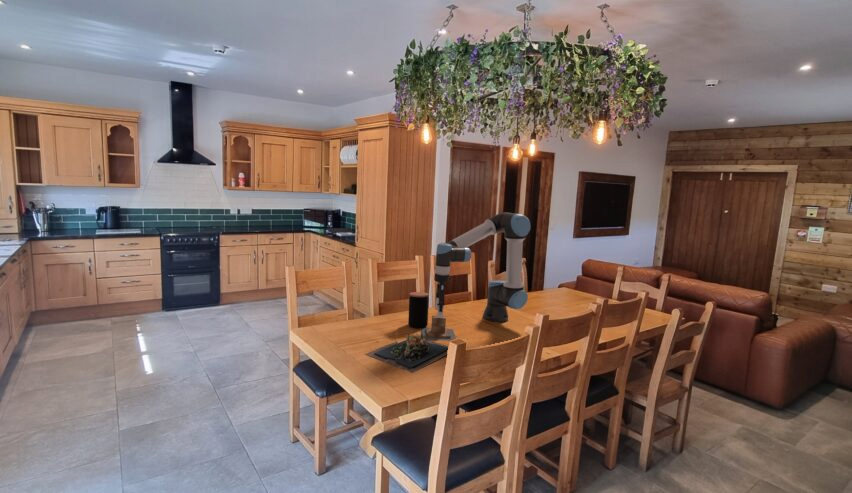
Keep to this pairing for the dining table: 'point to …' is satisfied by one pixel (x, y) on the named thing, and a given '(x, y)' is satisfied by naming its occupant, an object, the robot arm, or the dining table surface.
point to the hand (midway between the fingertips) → (438, 313)
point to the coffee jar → (418, 309)
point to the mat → (439, 338)
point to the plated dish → (410, 353)
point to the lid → (438, 328)
